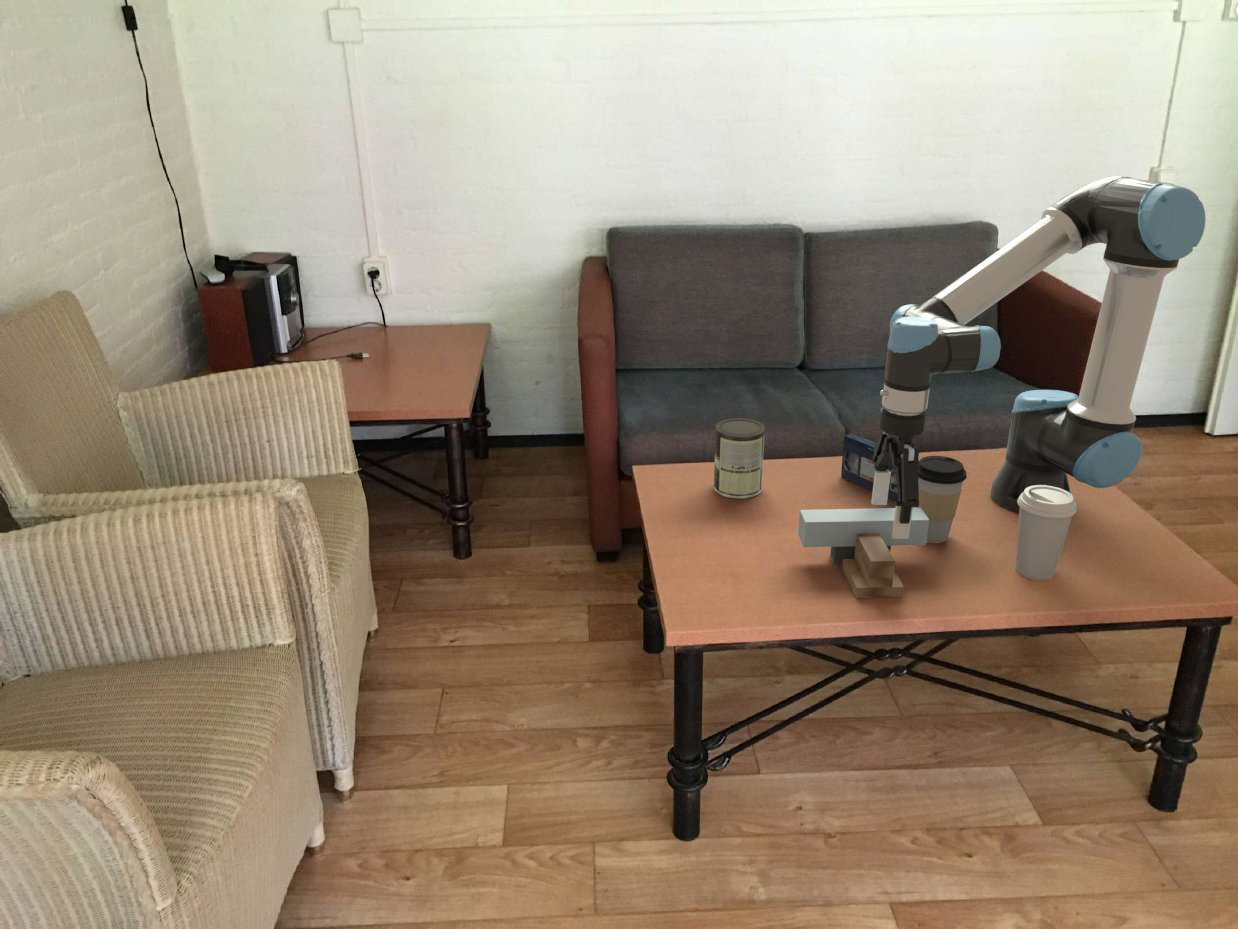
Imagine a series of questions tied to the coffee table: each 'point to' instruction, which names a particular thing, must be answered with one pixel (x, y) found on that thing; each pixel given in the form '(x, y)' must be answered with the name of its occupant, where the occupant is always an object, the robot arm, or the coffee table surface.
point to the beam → (857, 526)
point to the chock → (844, 553)
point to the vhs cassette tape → (863, 465)
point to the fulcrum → (872, 569)
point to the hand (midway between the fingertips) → (889, 520)
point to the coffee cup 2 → (1042, 529)
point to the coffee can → (738, 458)
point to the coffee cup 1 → (939, 493)
